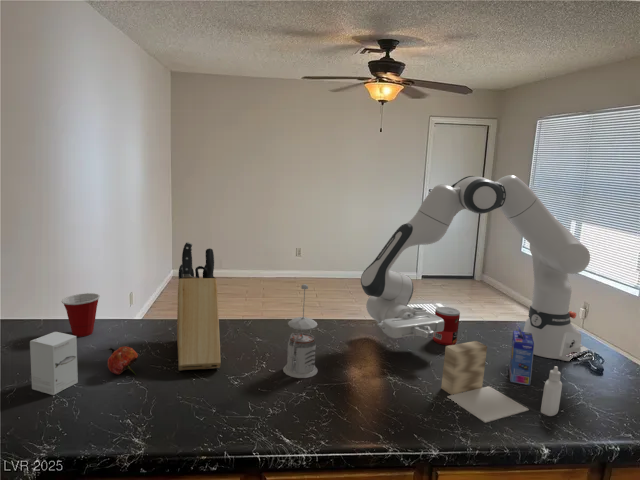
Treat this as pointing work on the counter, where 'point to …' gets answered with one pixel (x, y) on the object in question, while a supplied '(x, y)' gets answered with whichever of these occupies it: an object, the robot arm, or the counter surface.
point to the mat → (487, 404)
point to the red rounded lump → (121, 359)
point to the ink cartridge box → (521, 357)
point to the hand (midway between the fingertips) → (430, 335)
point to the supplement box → (53, 362)
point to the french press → (301, 348)
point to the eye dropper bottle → (552, 393)
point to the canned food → (447, 326)
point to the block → (463, 367)
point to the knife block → (197, 314)
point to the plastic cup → (81, 312)
